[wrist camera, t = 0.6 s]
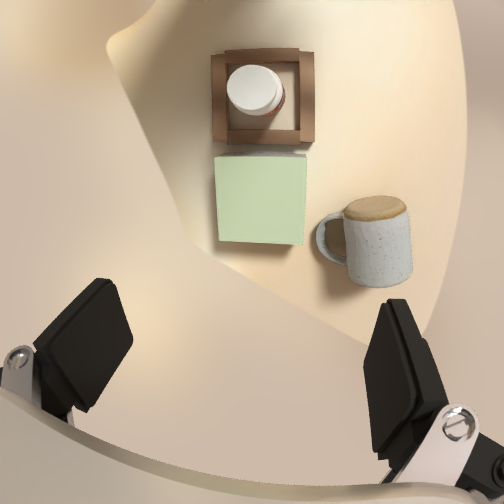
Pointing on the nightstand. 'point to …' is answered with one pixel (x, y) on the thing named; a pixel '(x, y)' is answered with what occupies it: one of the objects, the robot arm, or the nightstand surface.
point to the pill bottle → (256, 90)
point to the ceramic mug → (373, 241)
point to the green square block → (261, 197)
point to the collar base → (263, 56)
